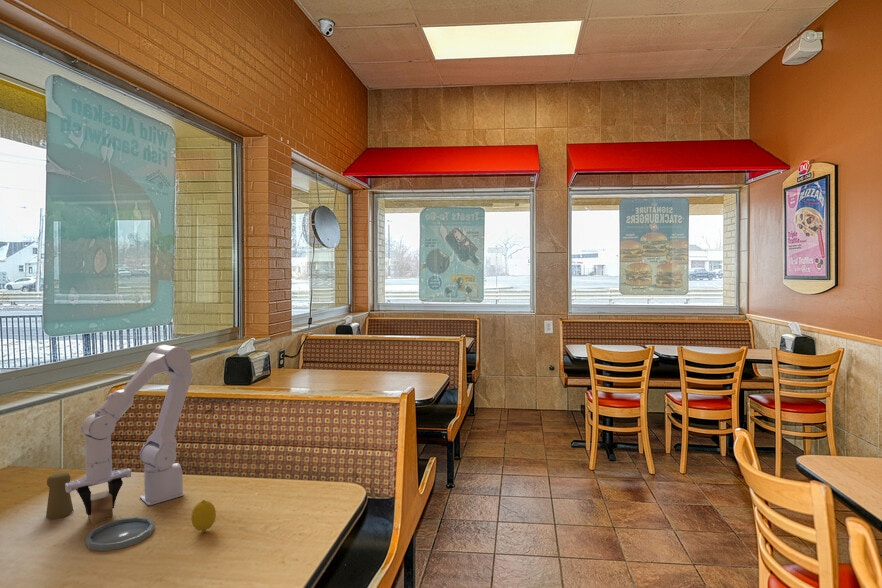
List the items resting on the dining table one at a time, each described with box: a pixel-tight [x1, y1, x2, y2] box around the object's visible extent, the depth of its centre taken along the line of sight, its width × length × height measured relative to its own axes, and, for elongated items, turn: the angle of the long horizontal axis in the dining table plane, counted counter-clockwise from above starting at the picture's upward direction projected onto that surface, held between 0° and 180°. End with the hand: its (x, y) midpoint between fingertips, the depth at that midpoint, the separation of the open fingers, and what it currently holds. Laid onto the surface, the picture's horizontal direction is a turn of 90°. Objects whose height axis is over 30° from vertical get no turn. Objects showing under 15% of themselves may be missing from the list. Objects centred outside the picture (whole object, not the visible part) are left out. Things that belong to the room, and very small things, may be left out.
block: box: [87, 490, 114, 524], centre depth 137 cm, size 5×5×6 cm
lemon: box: [190, 499, 217, 533], centre depth 129 cm, size 6×6×8 cm
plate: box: [84, 516, 155, 552], centre depth 128 cm, size 14×14×1 cm
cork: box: [45, 471, 74, 520], centre depth 140 cm, size 6×6×11 cm
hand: (100, 510), depth 137 cm, fingers closed on block, 5 cm apart
